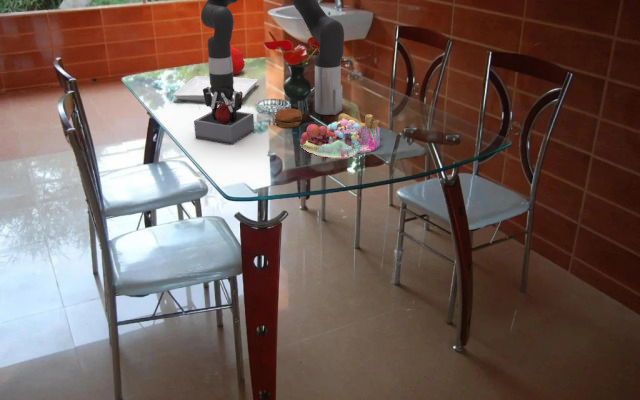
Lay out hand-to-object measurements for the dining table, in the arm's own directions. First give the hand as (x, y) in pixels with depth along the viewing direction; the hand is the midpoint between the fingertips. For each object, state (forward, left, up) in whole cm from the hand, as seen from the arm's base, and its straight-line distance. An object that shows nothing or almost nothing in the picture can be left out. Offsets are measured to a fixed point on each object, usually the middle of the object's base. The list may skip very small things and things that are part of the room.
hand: (224, 120), depth 211 cm
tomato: (+38, -64, -5) cm, 75 cm away
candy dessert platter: (-38, -8, -6) cm, 40 cm away
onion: (0, 0, -2) cm, 2 cm away
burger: (-14, -19, -5) cm, 24 cm away
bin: (0, 0, -5) cm, 5 cm away
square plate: (+27, -37, -6) cm, 46 cm away
